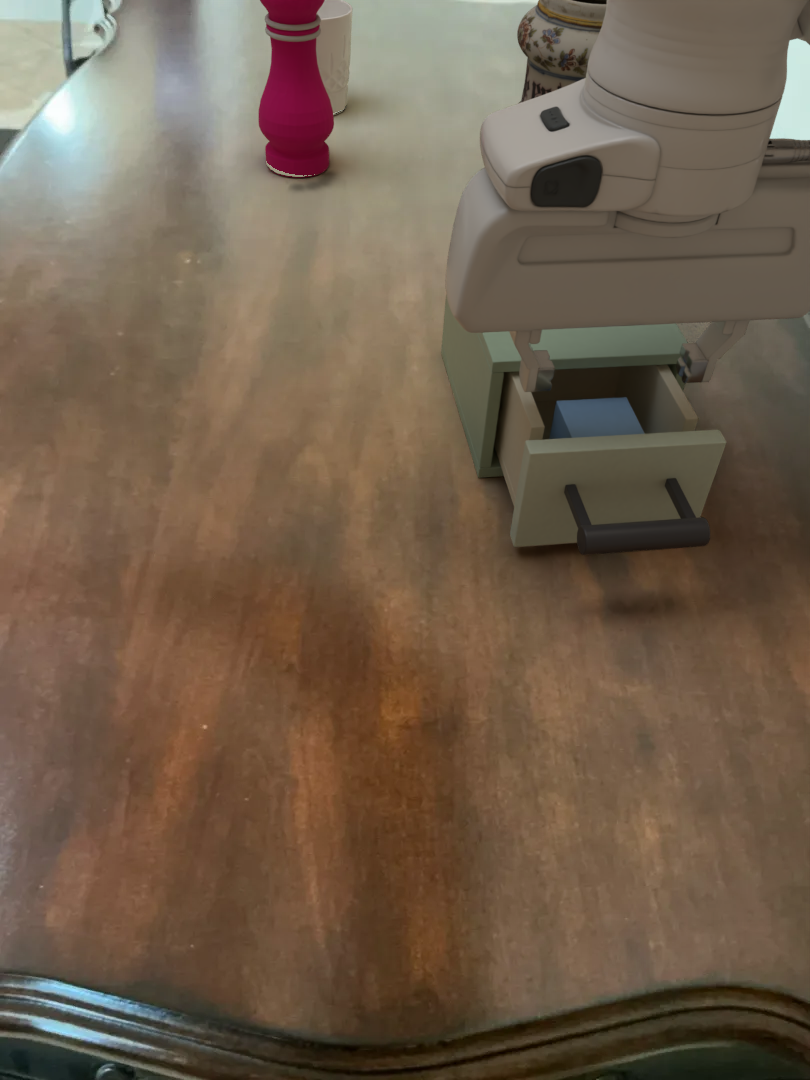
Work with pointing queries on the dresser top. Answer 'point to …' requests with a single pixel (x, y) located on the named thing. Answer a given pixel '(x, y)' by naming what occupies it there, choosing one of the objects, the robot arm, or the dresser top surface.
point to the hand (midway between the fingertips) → (613, 381)
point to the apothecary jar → (558, 43)
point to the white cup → (335, 50)
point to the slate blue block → (594, 418)
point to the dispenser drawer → (607, 465)
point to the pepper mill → (295, 91)
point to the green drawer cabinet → (490, 354)
